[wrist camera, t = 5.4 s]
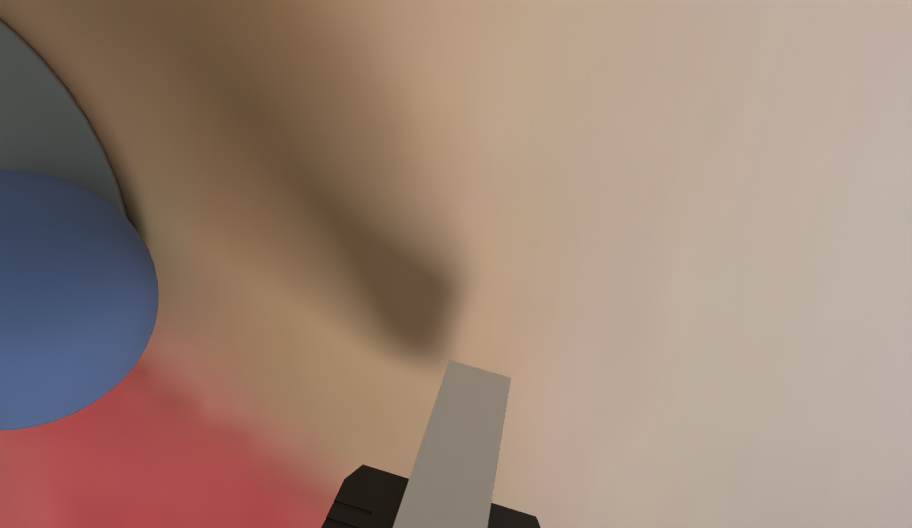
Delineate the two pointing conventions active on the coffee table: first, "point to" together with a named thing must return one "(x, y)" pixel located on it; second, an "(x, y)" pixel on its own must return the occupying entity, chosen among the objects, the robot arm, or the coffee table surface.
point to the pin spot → (47, 124)
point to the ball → (67, 298)
